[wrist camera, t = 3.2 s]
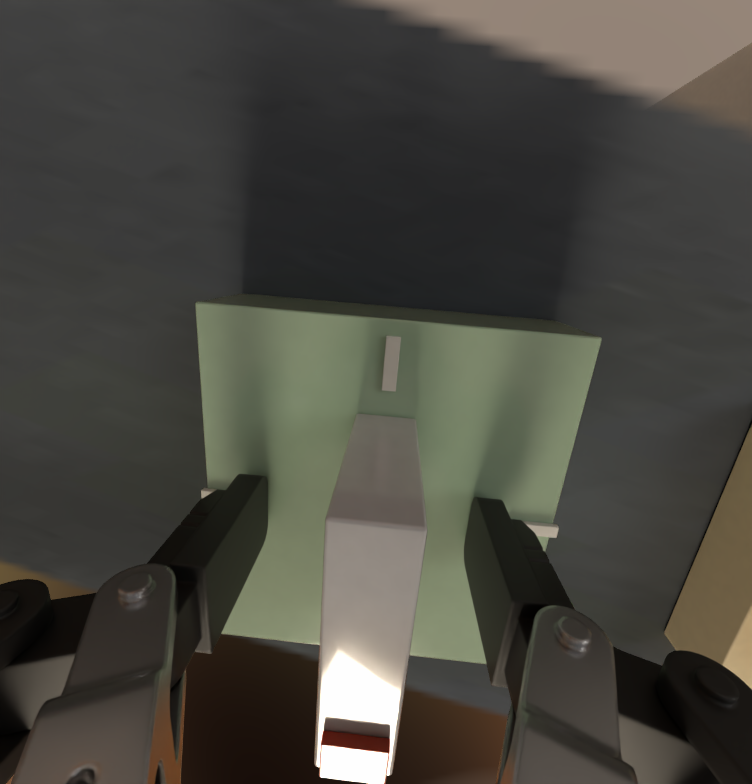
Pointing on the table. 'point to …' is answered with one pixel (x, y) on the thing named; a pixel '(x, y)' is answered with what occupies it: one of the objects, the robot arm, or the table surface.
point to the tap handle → (369, 598)
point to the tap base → (394, 399)
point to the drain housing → (722, 581)
